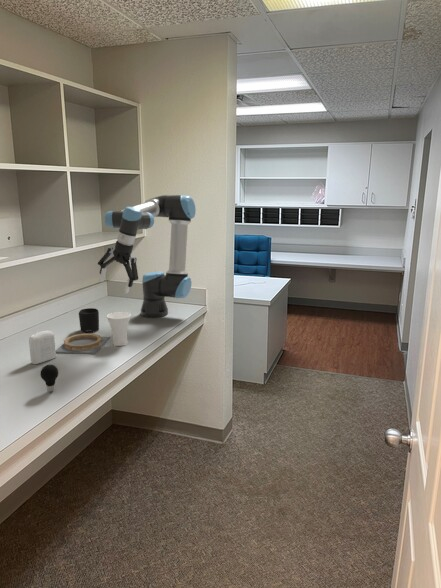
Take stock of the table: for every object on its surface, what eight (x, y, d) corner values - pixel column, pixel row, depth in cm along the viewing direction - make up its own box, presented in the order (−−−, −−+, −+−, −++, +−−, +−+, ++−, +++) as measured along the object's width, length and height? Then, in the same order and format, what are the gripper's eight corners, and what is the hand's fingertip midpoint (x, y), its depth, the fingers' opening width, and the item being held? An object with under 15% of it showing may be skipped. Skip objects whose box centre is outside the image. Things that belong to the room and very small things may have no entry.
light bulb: (49, 386, 160) (47, 361, 157) (63, 389, 158) (61, 363, 156) (38, 394, 154) (35, 367, 152) (53, 396, 153) (50, 369, 150)
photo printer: (51, 355, 188) (49, 327, 185) (57, 357, 186) (55, 329, 183) (29, 363, 180) (26, 334, 177) (35, 365, 178) (32, 336, 175)
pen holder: (75, 331, 218) (74, 312, 215) (89, 326, 226) (88, 307, 223) (90, 334, 213) (88, 314, 211) (103, 329, 222) (102, 309, 219)
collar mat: (72, 336, 210) (72, 335, 210) (109, 337, 209) (109, 336, 209) (54, 352, 191) (54, 351, 191) (95, 354, 190) (95, 352, 190)
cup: (126, 348, 196) (125, 319, 193) (104, 346, 198) (102, 317, 194) (135, 340, 206) (134, 312, 203) (114, 338, 208) (112, 311, 205)
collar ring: (72, 337, 208) (72, 333, 208) (106, 338, 207) (106, 334, 207) (58, 349, 193) (58, 345, 192) (94, 350, 192) (94, 346, 191)
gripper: (96, 233, 194) (86, 277, 200) (144, 253, 187) (132, 299, 193) (106, 232, 200) (96, 275, 207) (153, 252, 194) (141, 296, 200)
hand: (113, 287), depth 200 cm, fingers open, 13 cm apart
